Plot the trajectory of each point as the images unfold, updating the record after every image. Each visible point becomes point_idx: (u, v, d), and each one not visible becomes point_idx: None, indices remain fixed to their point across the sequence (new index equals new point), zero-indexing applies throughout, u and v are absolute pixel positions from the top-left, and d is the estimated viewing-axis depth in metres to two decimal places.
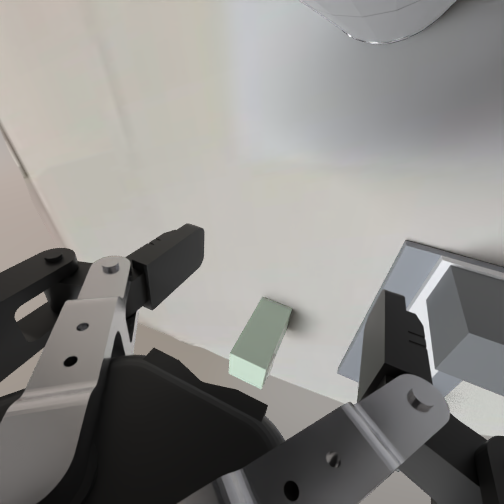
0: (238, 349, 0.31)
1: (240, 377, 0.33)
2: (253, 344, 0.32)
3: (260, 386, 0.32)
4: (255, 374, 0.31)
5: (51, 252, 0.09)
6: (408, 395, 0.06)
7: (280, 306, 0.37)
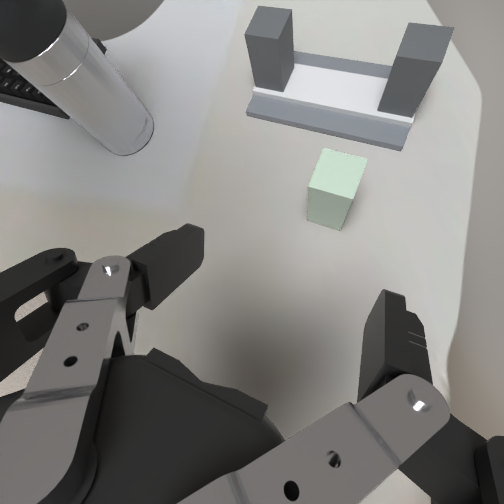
0: None
1: (354, 183, 0.26)
2: None
3: (361, 159, 0.26)
4: (337, 162, 0.27)
5: (51, 252, 0.09)
6: (408, 395, 0.06)
7: None
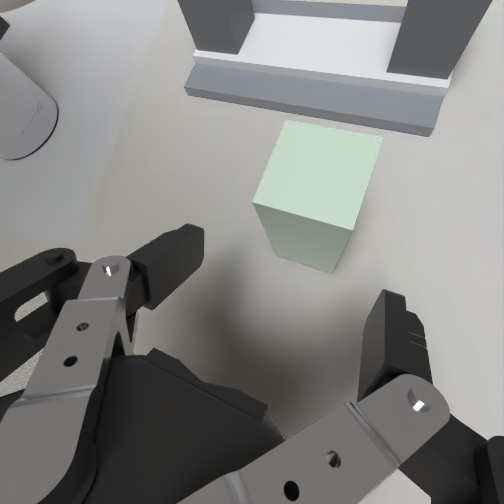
0: None
1: (355, 192, 0.11)
2: None
3: (368, 138, 0.12)
4: (316, 147, 0.12)
5: (51, 252, 0.09)
6: (408, 395, 0.06)
7: None
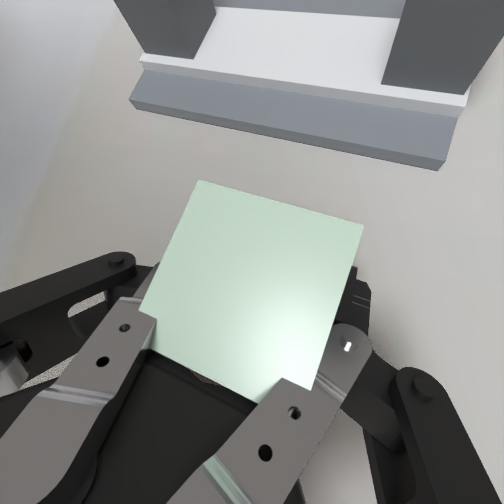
0: None
1: (307, 338, 0.06)
2: None
3: (336, 225, 0.06)
4: (244, 236, 0.07)
5: (115, 255, 0.09)
6: (339, 337, 0.07)
7: None
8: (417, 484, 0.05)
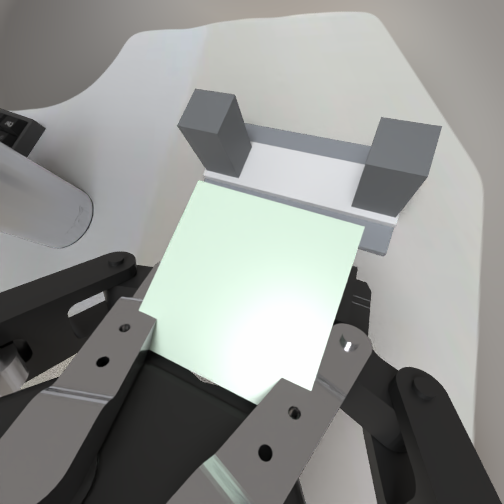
0: None
1: (307, 340, 0.06)
2: None
3: (336, 227, 0.06)
4: (244, 237, 0.07)
5: (115, 255, 0.09)
6: (339, 337, 0.07)
7: None
8: (417, 484, 0.05)
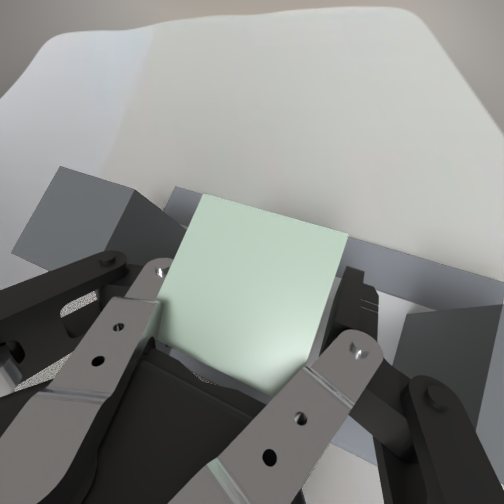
0: None
1: (299, 333, 0.07)
2: None
3: (324, 234, 0.07)
4: (244, 243, 0.08)
5: (106, 254, 0.09)
6: (349, 344, 0.07)
7: None
8: (428, 495, 0.05)
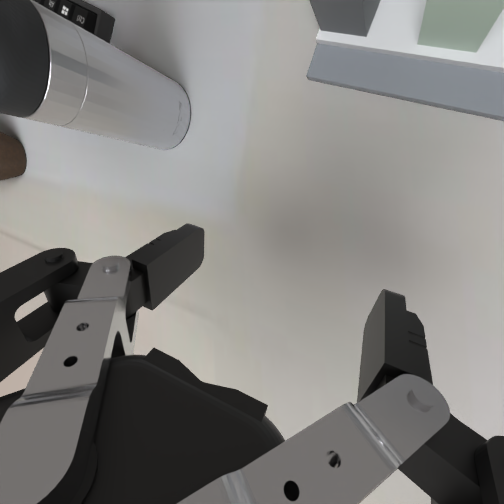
0: None
1: None
2: None
3: None
4: None
5: (51, 252, 0.09)
6: (408, 395, 0.06)
7: None
8: None
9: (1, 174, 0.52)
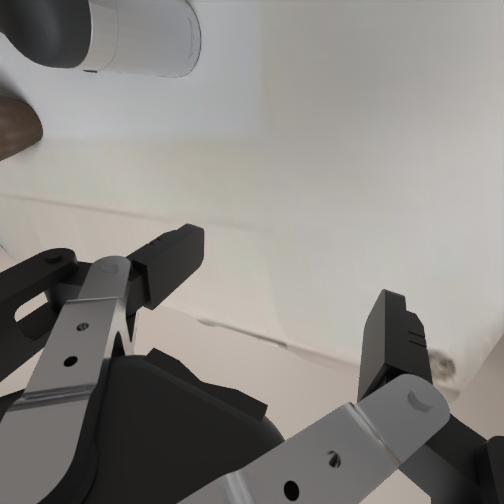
0: None
1: None
2: None
3: None
4: None
5: (51, 252, 0.09)
6: (408, 395, 0.06)
7: None
8: None
9: (26, 141, 0.54)
